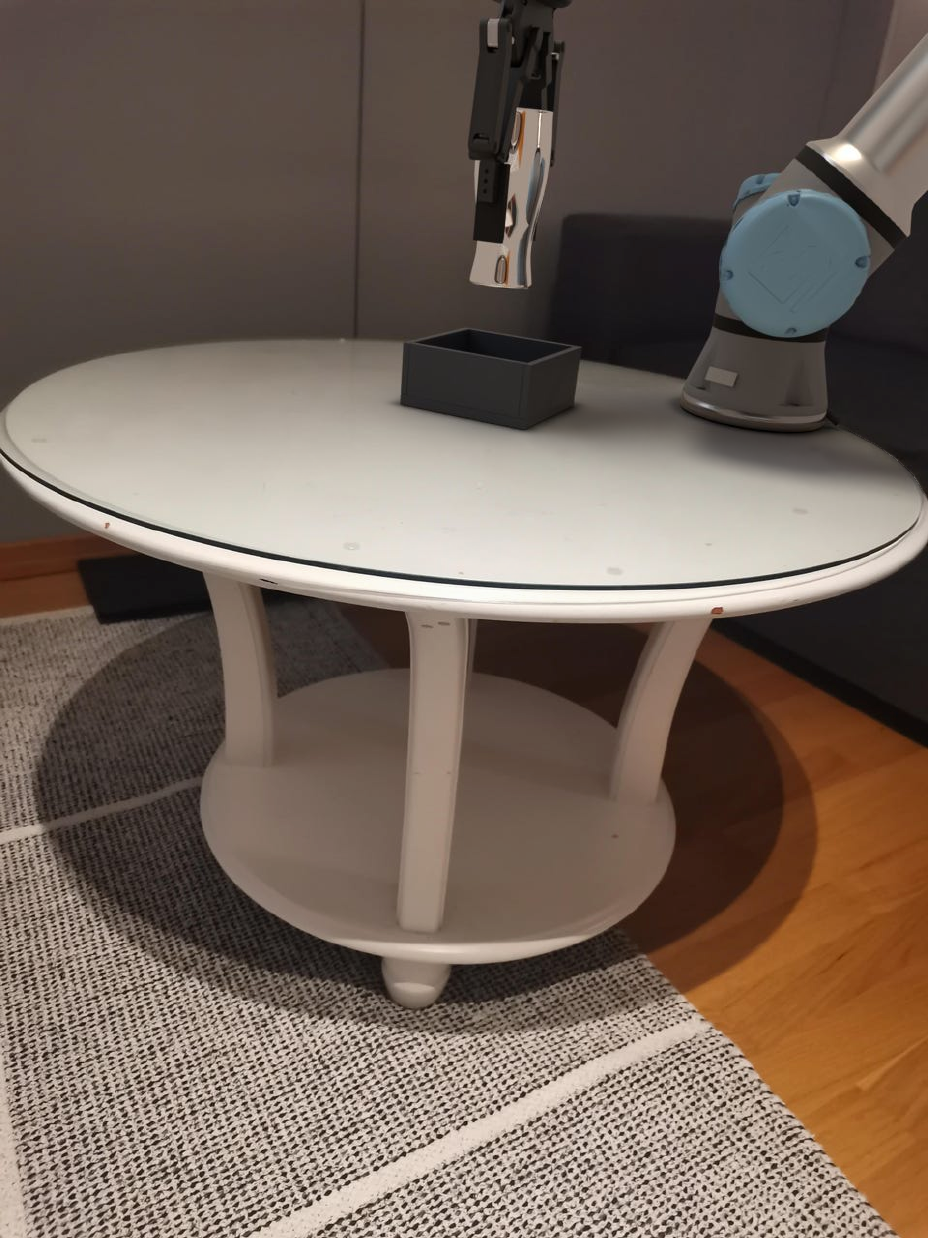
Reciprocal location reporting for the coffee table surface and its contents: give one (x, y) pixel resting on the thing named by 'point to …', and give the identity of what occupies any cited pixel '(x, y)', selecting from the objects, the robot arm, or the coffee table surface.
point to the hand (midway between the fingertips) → (505, 239)
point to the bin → (490, 376)
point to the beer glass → (517, 204)
